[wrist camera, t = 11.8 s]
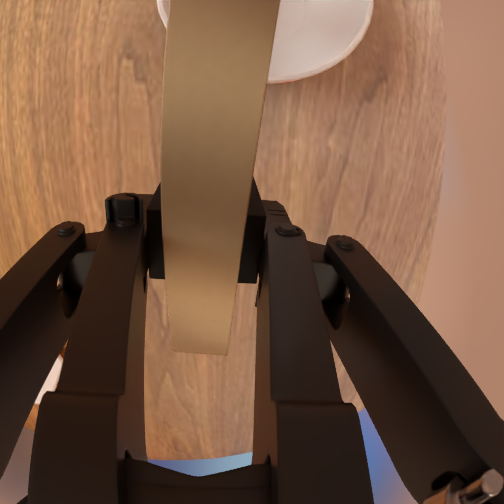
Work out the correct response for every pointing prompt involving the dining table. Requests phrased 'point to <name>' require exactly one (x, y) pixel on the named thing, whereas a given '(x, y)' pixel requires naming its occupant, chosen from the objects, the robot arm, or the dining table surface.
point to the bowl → (310, 35)
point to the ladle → (209, 158)
